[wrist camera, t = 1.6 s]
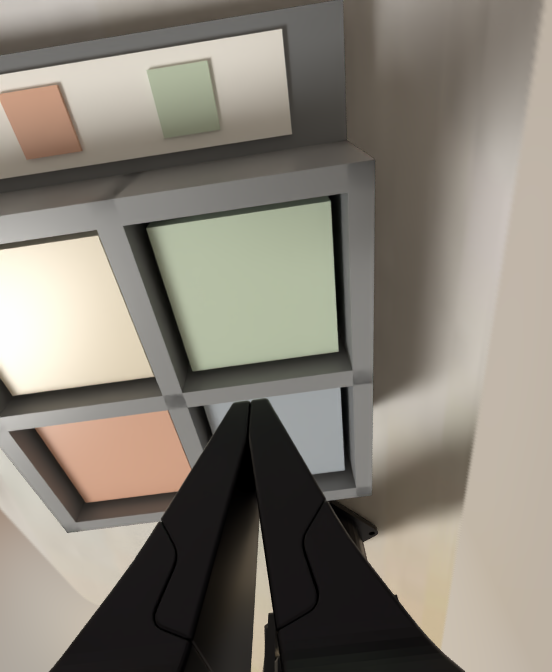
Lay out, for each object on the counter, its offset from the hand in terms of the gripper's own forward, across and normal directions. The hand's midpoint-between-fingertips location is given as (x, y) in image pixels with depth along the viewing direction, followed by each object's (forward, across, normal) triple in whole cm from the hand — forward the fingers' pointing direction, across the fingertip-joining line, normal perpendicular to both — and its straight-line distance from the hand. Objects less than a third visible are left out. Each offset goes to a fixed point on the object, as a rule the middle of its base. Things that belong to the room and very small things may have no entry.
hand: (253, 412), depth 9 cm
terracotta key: (+7, +8, +7) cm, 13 cm away
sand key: (+7, +8, 0) cm, 10 cm away
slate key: (+7, 0, +7) cm, 10 cm away
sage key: (+7, 0, 0) cm, 7 cm away
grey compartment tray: (+10, +4, +2) cm, 11 cm away
